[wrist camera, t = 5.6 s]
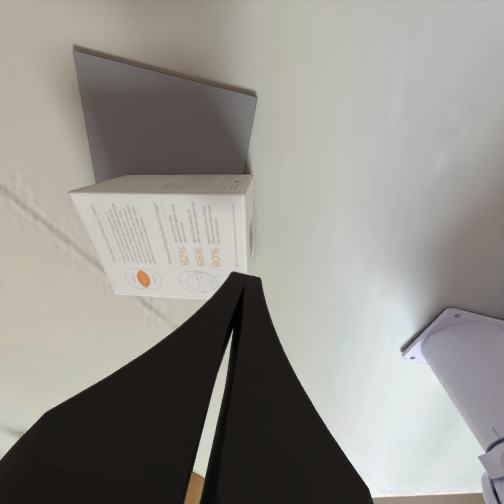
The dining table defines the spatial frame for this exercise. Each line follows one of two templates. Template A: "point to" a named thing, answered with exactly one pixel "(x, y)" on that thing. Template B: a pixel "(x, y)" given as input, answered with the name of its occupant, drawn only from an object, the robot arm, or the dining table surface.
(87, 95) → the mat
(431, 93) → the dining table surface
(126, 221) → the small box
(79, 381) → the dining table surface
